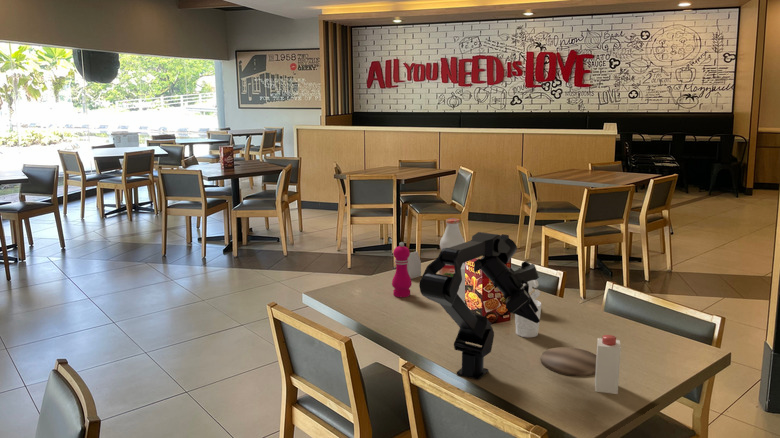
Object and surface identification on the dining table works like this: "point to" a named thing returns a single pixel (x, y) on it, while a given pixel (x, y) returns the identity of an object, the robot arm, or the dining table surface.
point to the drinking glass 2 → (462, 284)
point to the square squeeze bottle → (607, 364)
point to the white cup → (527, 324)
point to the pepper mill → (401, 272)
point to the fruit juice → (450, 242)
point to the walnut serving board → (569, 361)
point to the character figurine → (532, 284)
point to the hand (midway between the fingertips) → (537, 316)
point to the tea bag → (414, 265)
